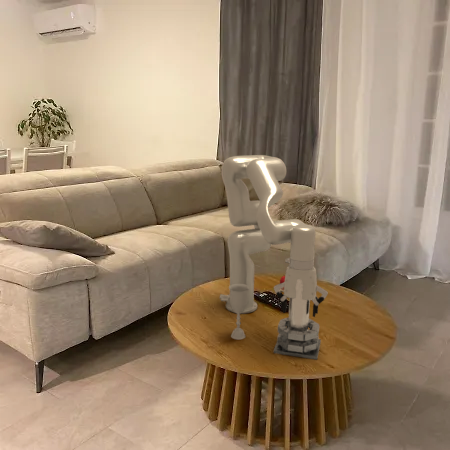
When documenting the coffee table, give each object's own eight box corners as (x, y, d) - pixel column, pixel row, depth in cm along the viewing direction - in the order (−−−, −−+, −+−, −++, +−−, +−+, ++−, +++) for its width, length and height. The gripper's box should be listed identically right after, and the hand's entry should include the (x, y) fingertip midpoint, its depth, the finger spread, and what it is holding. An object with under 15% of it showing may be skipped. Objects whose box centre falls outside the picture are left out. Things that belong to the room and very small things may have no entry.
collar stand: (273, 353, 152) (274, 331, 150) (280, 335, 164) (281, 314, 162) (316, 360, 148) (318, 337, 146) (320, 341, 161) (322, 319, 159)
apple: (274, 286, 210) (274, 273, 208) (290, 285, 212) (291, 271, 210) (280, 293, 202) (280, 279, 201) (297, 291, 204) (298, 277, 203)
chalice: (241, 342, 159) (242, 293, 155) (224, 337, 163) (224, 288, 158) (251, 334, 165) (252, 286, 161) (235, 329, 169) (235, 282, 164)
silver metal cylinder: (306, 350, 153) (311, 277, 147) (286, 348, 154) (290, 275, 148) (307, 340, 159) (311, 270, 153) (288, 338, 160) (291, 269, 154)
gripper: (272, 264, 148) (271, 314, 152) (328, 270, 143) (325, 321, 148) (276, 257, 155) (275, 305, 159) (330, 262, 150) (327, 312, 155)
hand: (299, 313), depth 153 cm, fingers open, 9 cm apart
